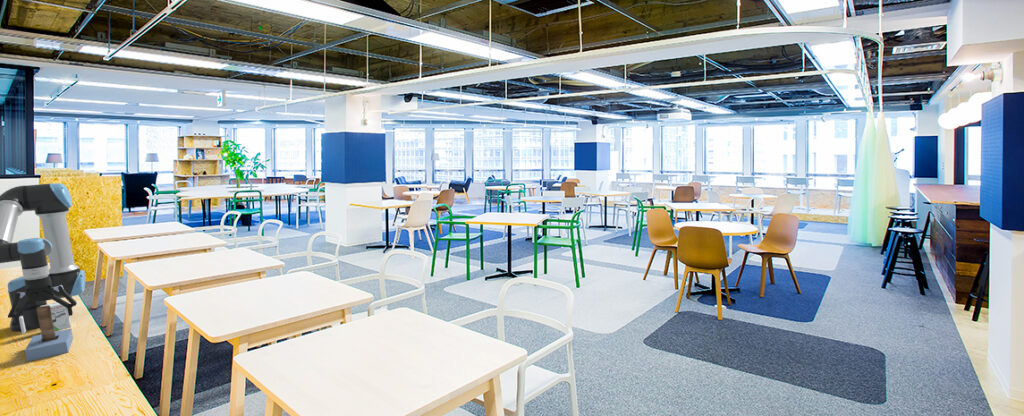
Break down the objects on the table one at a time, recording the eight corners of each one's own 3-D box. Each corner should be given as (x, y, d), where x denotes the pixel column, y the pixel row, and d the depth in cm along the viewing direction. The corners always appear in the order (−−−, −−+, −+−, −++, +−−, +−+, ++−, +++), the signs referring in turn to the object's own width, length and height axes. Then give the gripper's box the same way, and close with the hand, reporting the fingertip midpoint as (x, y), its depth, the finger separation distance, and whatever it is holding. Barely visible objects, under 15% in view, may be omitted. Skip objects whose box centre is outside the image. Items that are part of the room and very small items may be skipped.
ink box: (46, 333, 220) (41, 308, 218) (43, 331, 223) (38, 306, 221) (71, 327, 227) (67, 302, 226) (67, 325, 230) (63, 300, 228)
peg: (45, 349, 203) (37, 307, 200) (58, 346, 205) (50, 304, 203) (44, 352, 200) (35, 309, 197) (57, 349, 202) (49, 307, 199)
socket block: (34, 346, 206) (32, 336, 206) (73, 338, 213) (71, 328, 212) (26, 361, 192) (24, 350, 191) (68, 352, 199) (66, 341, 198)
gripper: (-10, 286, 188) (1, 339, 191) (77, 272, 202) (86, 322, 206) (-5, 281, 194) (6, 333, 197) (79, 269, 208) (88, 317, 211)
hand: (47, 328), depth 201 cm, fingers open, 13 cm apart
